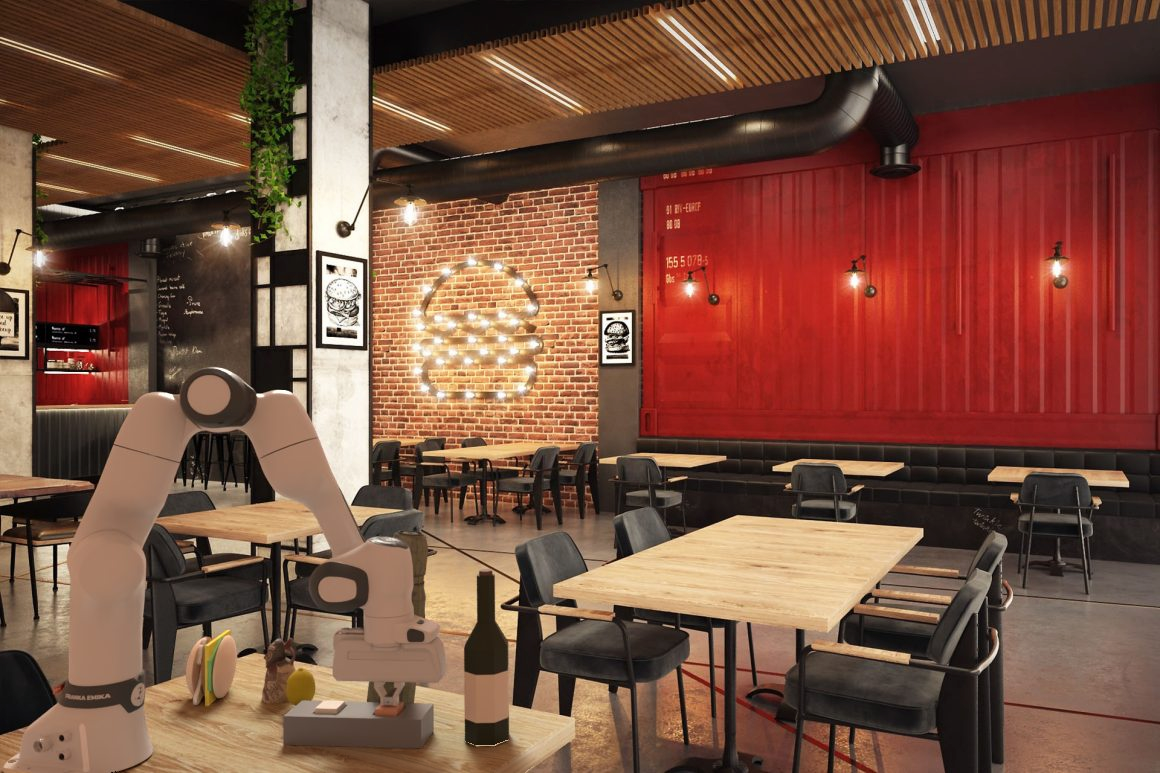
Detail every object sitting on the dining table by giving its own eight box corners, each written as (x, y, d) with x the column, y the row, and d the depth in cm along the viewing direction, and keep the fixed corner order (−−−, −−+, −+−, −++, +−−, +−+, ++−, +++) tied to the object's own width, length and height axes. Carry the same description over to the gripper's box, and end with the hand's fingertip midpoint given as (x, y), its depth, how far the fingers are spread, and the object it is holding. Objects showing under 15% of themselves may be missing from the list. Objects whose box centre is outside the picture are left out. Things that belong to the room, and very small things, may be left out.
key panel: (283, 744, 153) (283, 716, 153) (302, 727, 160) (302, 700, 161) (421, 748, 150) (421, 719, 150) (433, 731, 158) (433, 703, 158)
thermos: (421, 708, 170) (441, 531, 171) (400, 729, 158) (422, 539, 160) (378, 701, 171) (399, 525, 172) (354, 721, 160) (377, 532, 161)
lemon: (319, 704, 173) (319, 664, 173) (308, 714, 167) (308, 672, 167) (293, 703, 173) (293, 663, 174) (281, 713, 168) (281, 672, 168)
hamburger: (202, 686, 184) (202, 630, 185) (241, 685, 185) (241, 629, 185) (178, 706, 172) (177, 646, 173) (220, 705, 173) (219, 645, 173)
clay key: (374, 729, 153) (374, 709, 153) (382, 720, 157) (382, 701, 157) (396, 729, 153) (396, 709, 153) (403, 721, 157) (403, 702, 157)
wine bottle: (498, 750, 149) (496, 576, 149) (455, 744, 152) (453, 573, 152) (518, 732, 157) (516, 567, 157) (477, 726, 160) (475, 564, 160)
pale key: (315, 728, 154) (315, 708, 154) (324, 719, 158) (323, 700, 158) (336, 728, 154) (336, 708, 154) (345, 720, 158) (345, 701, 158)
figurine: (267, 692, 180) (266, 634, 180) (302, 690, 181) (301, 633, 181) (257, 704, 173) (257, 644, 173) (294, 702, 174) (293, 643, 174)
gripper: (326, 632, 153) (327, 710, 153) (439, 633, 151) (440, 713, 151) (339, 622, 159) (340, 698, 159) (448, 624, 157) (449, 700, 157)
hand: (389, 705), depth 155 cm, fingers closed, pressing on clay key
